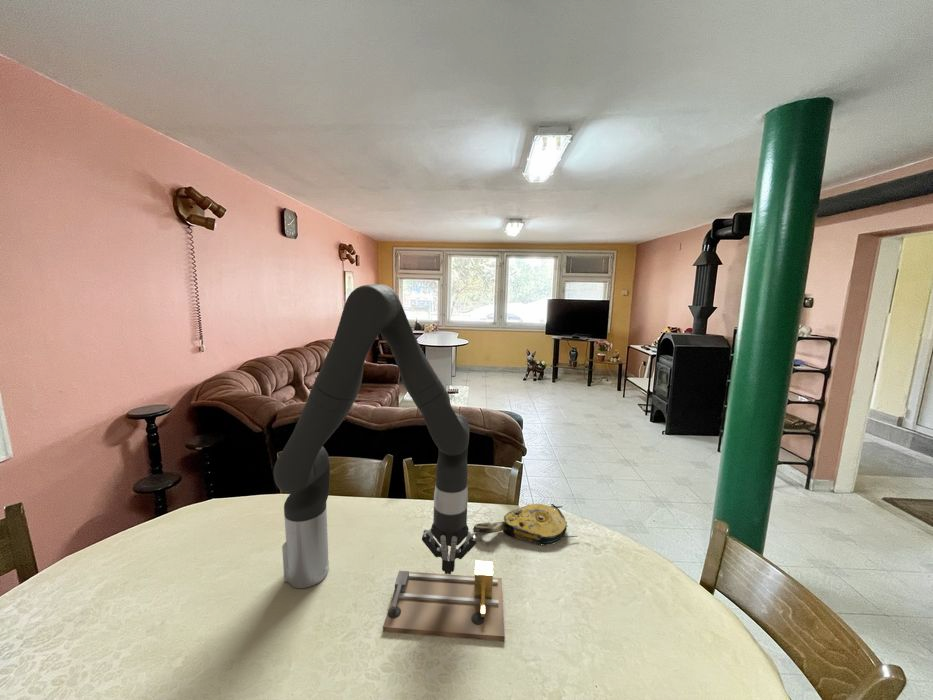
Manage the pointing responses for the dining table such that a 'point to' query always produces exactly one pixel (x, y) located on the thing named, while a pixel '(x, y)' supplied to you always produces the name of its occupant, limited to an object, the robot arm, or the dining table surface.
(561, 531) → the pulley block
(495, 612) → the gauge board
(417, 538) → the dining table surface
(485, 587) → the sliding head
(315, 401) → the robot arm
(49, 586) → the dining table surface
